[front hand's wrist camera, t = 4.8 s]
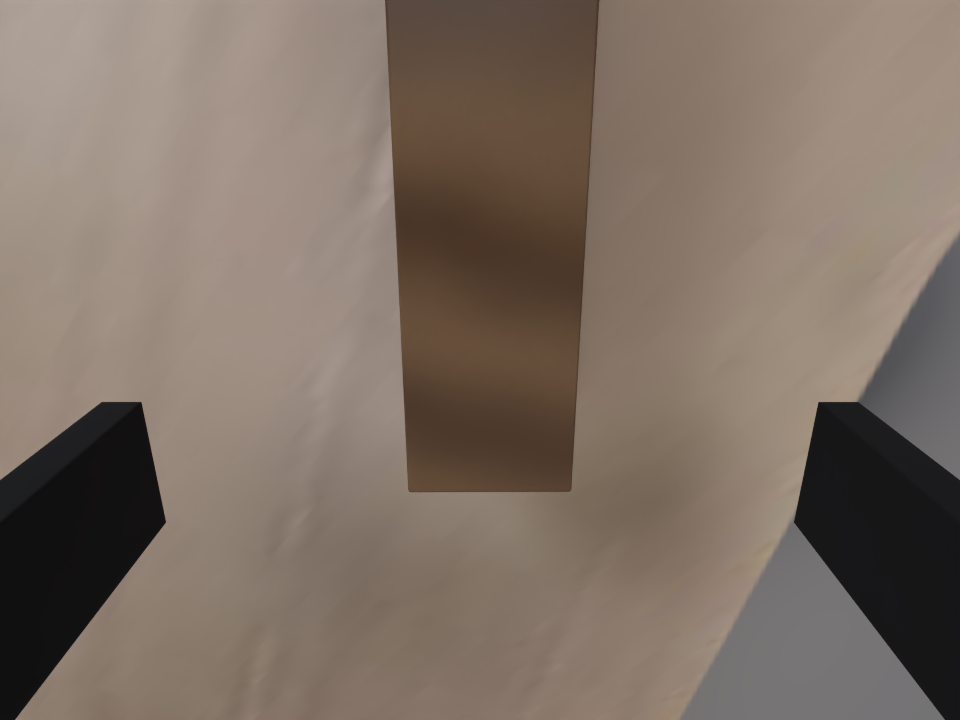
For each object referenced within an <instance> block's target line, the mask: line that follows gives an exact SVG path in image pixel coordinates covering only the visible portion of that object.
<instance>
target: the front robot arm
mask: <svg viewBox="0 0 960 720" xmlns="http://www.w3.org/2000/svg"><path fill="white" fill-rule="evenodd" d="M165 523H166V520H165V515H164V510H163V506H162V501H161V496H160V491H159V486H158V481H157V476H156V471H155V466H154V461H153V457H152V452H151V447H150V442H149V437H148V432H147V427H146V422H145V417H144V412H143V408H142V403H141V402H101V403H100V404H99V405H98V406H96V407H95V408H94V409H92V410H91V411H90V412H88V413H87V414H86V415H84V416H83V417H82V418H81V419H79V420H78V421H77V422H75V423H74V424H73V425H71V426H70V427H69V428H68V429H66V430H65V431H64V432H62V433H61V434H60V435H58V436H57V437H56V438H55V439H53V440H52V441H51V442H49V443H48V444H47V445H45V446H44V447H43V448H42V449H40V450H39V451H38V452H36V453H35V454H34V455H32V456H31V457H30V458H29V459H27V460H26V461H25V462H23V463H22V464H21V465H19V466H18V467H17V468H15V469H14V470H13V471H12V472H10V473H9V474H8V475H6V476H5V477H4V478H2V479H1V480H0V720H15V719H16V718H17V716H18V715H19V714H20V713H21V711H22V710H23V709H24V707H25V706H26V705H27V703H28V702H29V701H30V699H31V698H32V697H33V696H34V694H35V693H36V692H37V690H38V689H39V688H40V686H41V685H42V684H43V682H44V681H45V680H46V679H47V677H48V676H49V675H50V673H51V672H52V671H53V669H54V668H55V667H56V665H57V664H58V663H59V662H60V660H61V659H62V658H63V656H64V655H65V654H66V652H67V651H68V650H69V648H70V647H71V646H72V645H73V643H74V642H75V641H76V639H77V638H78V637H79V635H80V634H81V633H82V631H83V630H84V629H85V628H86V626H87V625H88V624H89V622H90V621H91V620H92V618H93V617H94V616H95V614H96V613H97V612H98V611H99V609H100V608H101V607H102V605H103V604H104V603H105V601H106V600H107V599H108V597H109V596H110V595H111V594H112V592H113V591H114V590H115V588H116V587H117V586H118V584H119V583H120V582H121V580H122V579H123V578H124V577H125V575H126V574H127V573H128V571H129V570H130V569H131V567H132V566H133V565H134V563H135V562H136V561H137V560H138V558H139V557H140V556H141V554H142V553H143V552H144V550H145V549H146V548H147V546H148V545H149V544H150V543H151V541H152V540H153V539H154V537H155V536H156V535H157V533H158V532H159V531H160V529H161V528H162V527H163V526H164V524H165ZM794 523H795V524H796V525H797V527H798V528H799V529H800V531H801V532H802V533H803V535H804V536H805V537H806V539H807V540H808V541H809V543H810V544H811V545H812V546H813V548H814V549H815V550H816V552H817V553H818V554H819V556H820V557H821V558H822V560H823V561H824V562H825V563H826V565H827V566H828V567H829V569H830V570H831V571H832V573H833V574H834V575H835V576H836V578H837V579H838V580H839V582H840V583H841V584H842V586H843V587H844V588H845V590H846V591H847V592H848V593H849V595H850V596H851V597H852V599H853V600H854V601H855V603H856V604H857V605H858V606H859V608H860V609H861V610H862V612H863V613H864V614H865V616H866V617H867V618H868V620H869V621H870V622H871V623H872V625H873V626H874V628H875V629H876V630H877V631H878V633H879V634H880V635H881V637H882V638H883V639H884V641H885V642H886V643H887V645H888V646H889V647H890V648H891V650H892V651H893V652H894V654H895V655H896V656H897V658H898V659H899V660H900V662H901V663H902V664H903V665H904V667H905V668H906V669H907V671H908V672H909V673H910V675H911V676H912V677H913V679H914V680H915V681H916V682H917V684H918V685H919V686H920V688H921V689H922V690H923V692H924V693H925V694H926V695H927V697H928V698H929V699H930V701H931V702H932V703H933V705H934V706H935V707H936V709H937V710H938V711H939V712H940V714H941V715H942V716H943V718H944V719H945V720H960V480H959V479H958V478H956V477H955V476H954V475H952V474H951V473H950V472H948V471H947V470H946V469H944V468H943V467H942V466H941V465H939V464H938V463H937V462H935V461H934V460H933V459H931V458H930V457H929V456H928V455H926V454H925V453H924V452H922V451H921V450H920V449H918V448H917V447H916V446H915V445H913V444H912V443H911V442H909V441H908V440H907V439H905V438H904V437H903V436H901V435H900V434H899V433H898V432H896V431H895V430H894V429H892V428H891V427H890V426H888V425H887V424H886V423H885V422H883V421H882V420H881V419H879V418H878V417H877V416H875V415H874V414H873V413H872V412H870V411H869V410H868V409H866V408H865V407H864V406H862V405H861V404H860V403H859V402H819V403H818V408H817V412H816V417H815V422H814V427H813V432H812V437H811V442H810V447H809V452H808V457H807V461H806V466H805V471H804V476H803V481H802V486H801V491H800V496H799V501H798V506H797V510H796V515H795V520H794Z"/></svg>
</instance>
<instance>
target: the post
mask: <svg viewBox="0 0 960 720" xmlns="http://www.w3.org/2000/svg"><path fill="white" fill-rule="evenodd" d="M385 7H386V28H387V49H388V70H389V91H390V112H391V134H392V155H393V176H394V197H395V218H396V240H397V261H398V282H399V303H400V324H401V346H402V367H403V388H404V409H405V430H406V452H407V473H408V490H409V492H569V491H571V484H572V466H573V449H574V431H575V414H576V396H577V379H578V361H579V344H580V326H581V309H582V291H583V274H584V256H585V239H586V221H587V204H588V186H589V169H590V151H591V134H592V116H593V99H594V81H595V64H596V46H597V29H598V11H599V0H385Z"/></svg>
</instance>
